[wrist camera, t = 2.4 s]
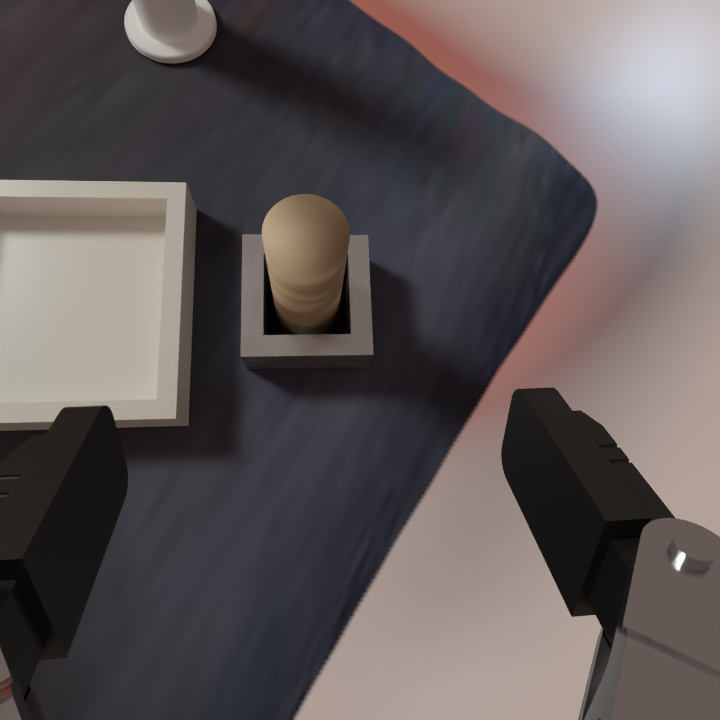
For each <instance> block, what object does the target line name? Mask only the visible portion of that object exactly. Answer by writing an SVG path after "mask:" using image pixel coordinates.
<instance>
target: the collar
mask: <svg viewBox="0 0 720 720" xmlns="http://www.w3.org/2000/svg"><path fill="white" fill-rule="evenodd" d="M268 275H269V272H268V267H267V262H266V256H265V251H264V245H263V240H262V235H249V234H242V299H241V358H242V360H243V362H244V364H245V366H246V368H247V369H297V368H354V367H368V366H369V364H370V361H371V359H372V357H373V333H372V311H371V290H370V268H369V247H368V235H350V241H349V247H348V254H347V260H346V266H345V272H344V275H345V292H346V321H347V334H315V335H268Z"/></svg>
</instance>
